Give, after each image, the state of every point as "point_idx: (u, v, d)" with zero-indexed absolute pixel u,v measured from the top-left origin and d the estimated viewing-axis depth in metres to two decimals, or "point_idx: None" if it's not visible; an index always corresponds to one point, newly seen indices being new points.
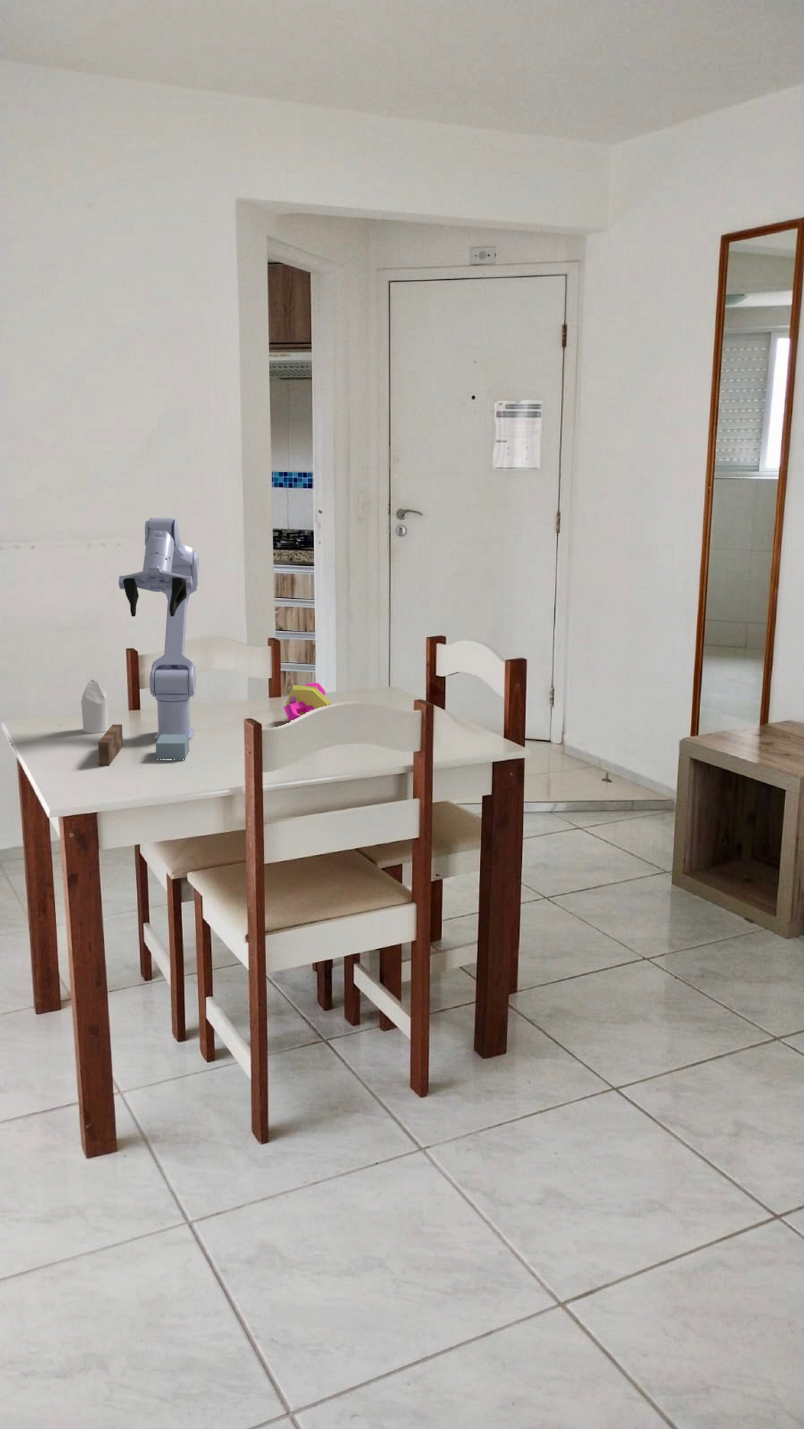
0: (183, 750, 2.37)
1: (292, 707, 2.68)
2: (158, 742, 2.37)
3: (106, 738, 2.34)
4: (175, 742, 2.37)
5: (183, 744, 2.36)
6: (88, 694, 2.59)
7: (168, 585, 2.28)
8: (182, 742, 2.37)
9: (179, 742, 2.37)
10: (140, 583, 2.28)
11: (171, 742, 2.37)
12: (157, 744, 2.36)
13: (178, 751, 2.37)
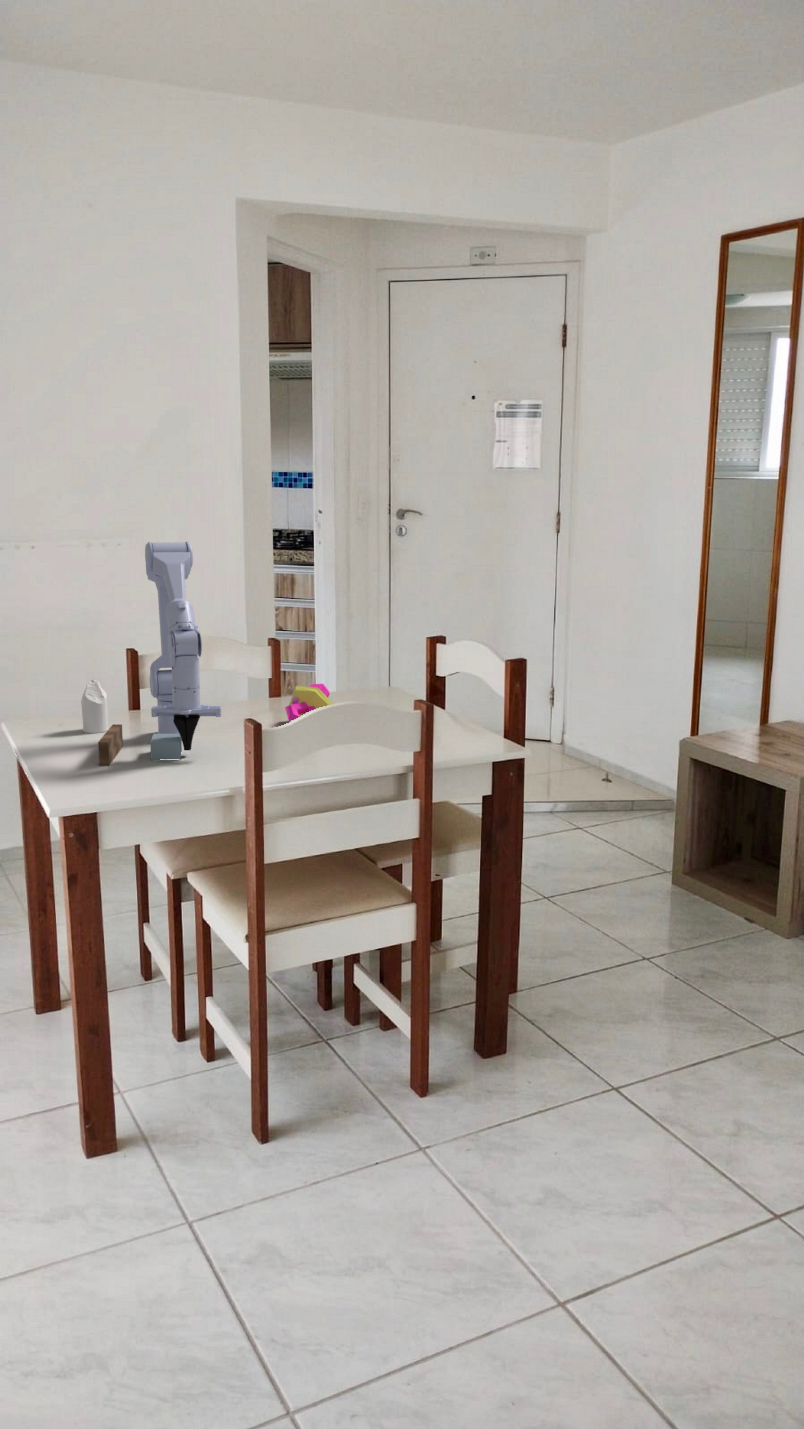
0: (178, 749, 2.37)
1: (293, 708, 2.67)
2: (152, 741, 2.36)
3: (106, 738, 2.34)
4: (170, 741, 2.37)
5: (178, 743, 2.36)
6: (88, 694, 2.59)
7: (199, 715, 2.39)
8: (177, 741, 2.37)
9: (174, 741, 2.37)
10: (172, 714, 2.38)
11: (166, 741, 2.37)
12: (152, 743, 2.36)
13: (172, 750, 2.37)
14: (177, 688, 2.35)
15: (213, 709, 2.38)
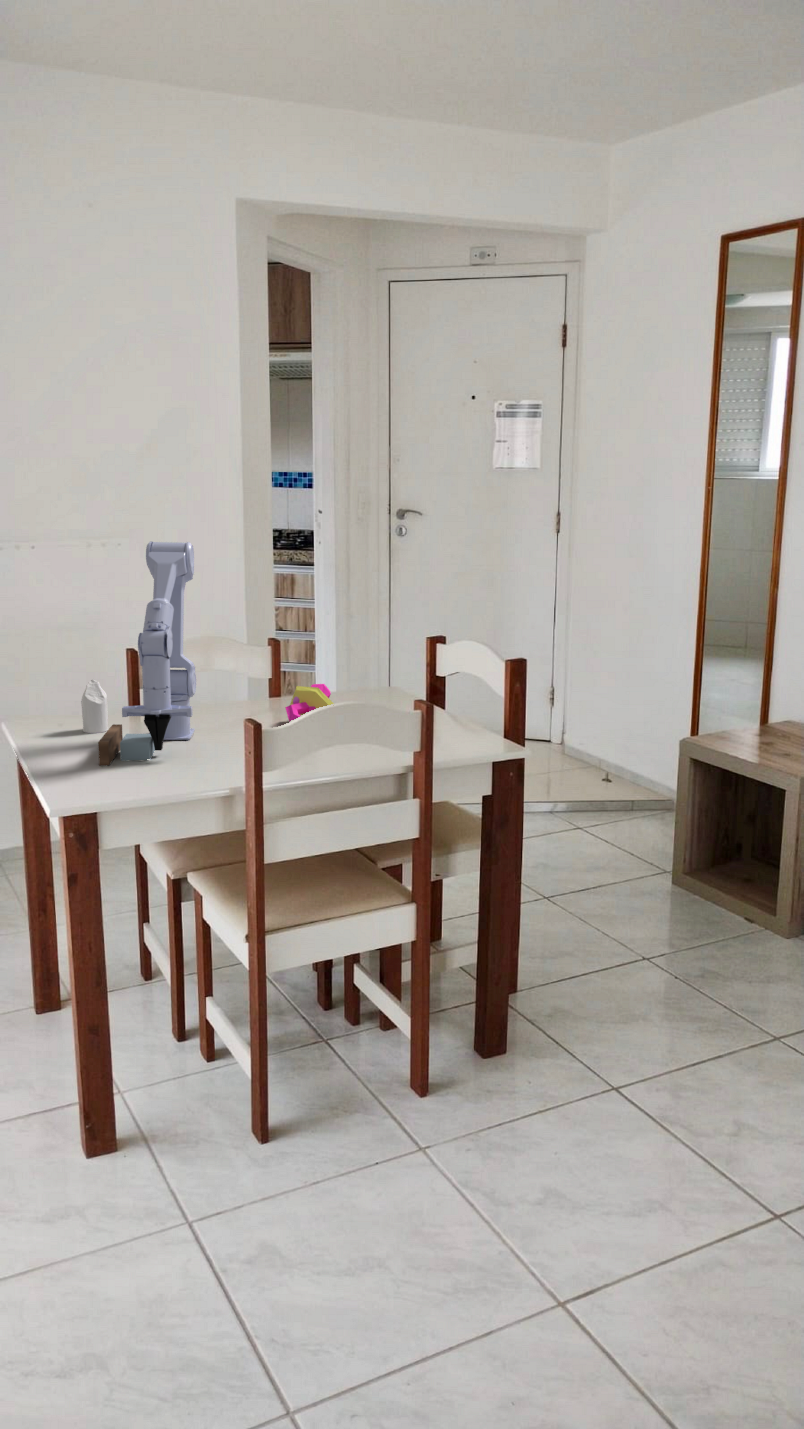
0: (147, 749, 2.36)
1: (293, 708, 2.67)
2: (122, 741, 2.36)
3: (106, 738, 2.34)
4: (139, 741, 2.36)
5: (147, 743, 2.36)
6: (88, 694, 2.59)
7: (170, 715, 2.39)
8: (147, 741, 2.36)
9: (143, 741, 2.36)
10: (143, 714, 2.38)
11: (135, 741, 2.36)
12: (121, 743, 2.35)
13: (142, 751, 2.36)
14: (147, 688, 2.35)
15: (184, 709, 2.38)
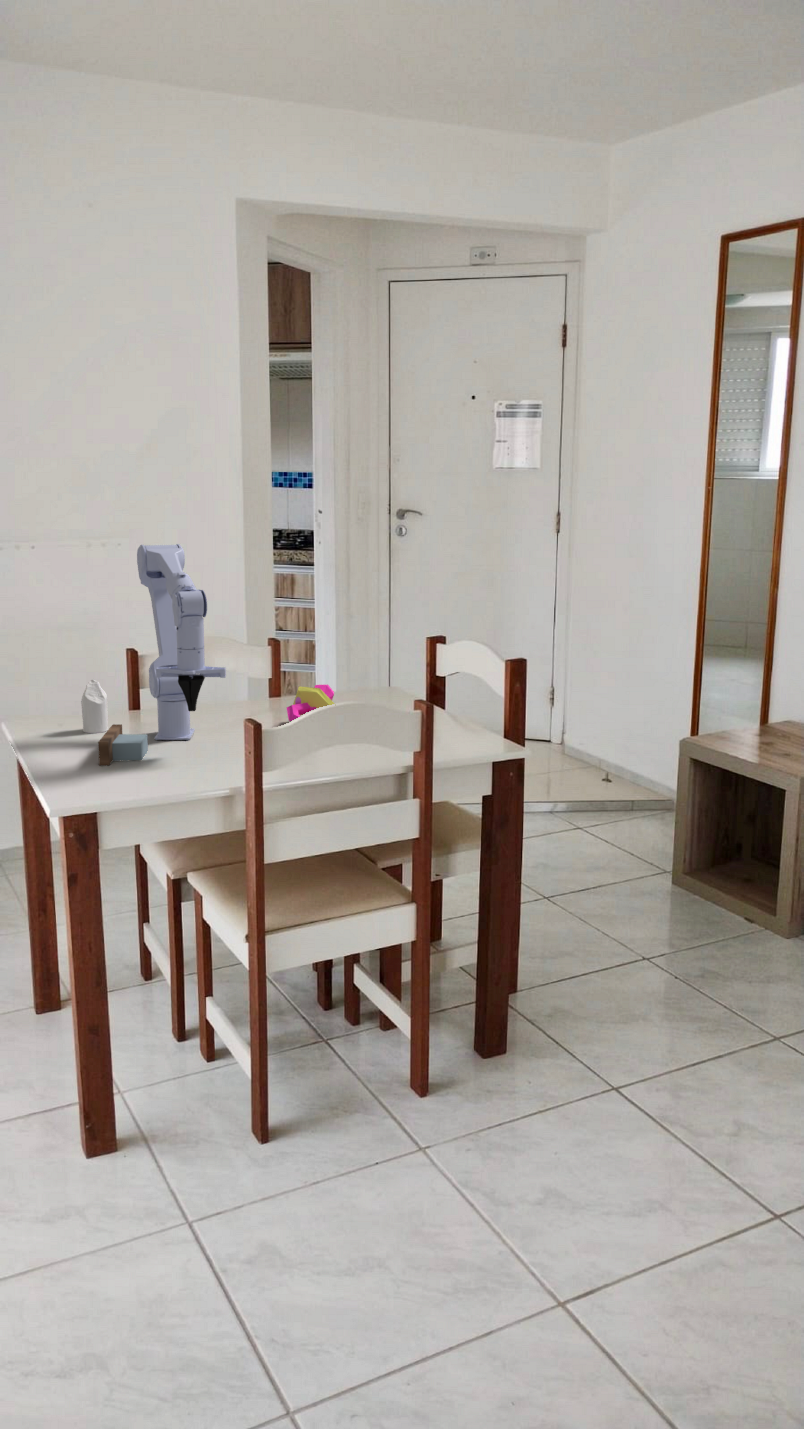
0: (140, 750, 2.36)
1: (294, 708, 2.67)
2: (115, 742, 2.36)
3: (106, 738, 2.34)
4: (132, 742, 2.36)
5: (139, 744, 2.36)
6: (88, 694, 2.59)
7: (203, 676, 2.40)
8: (139, 742, 2.36)
9: (136, 742, 2.36)
10: (176, 675, 2.39)
11: (128, 742, 2.36)
12: (113, 744, 2.35)
13: (134, 751, 2.36)
14: (182, 648, 2.36)
15: (217, 670, 2.39)
